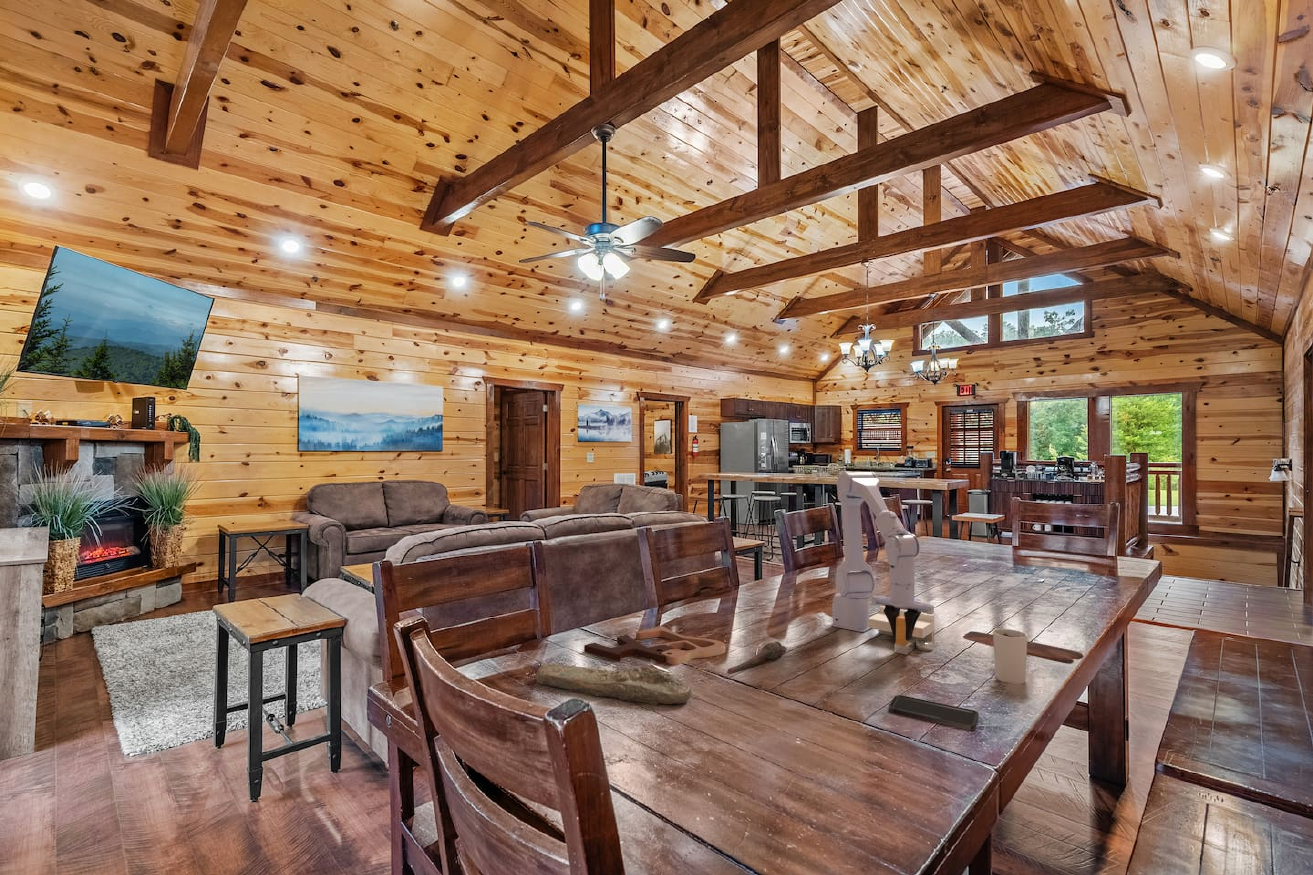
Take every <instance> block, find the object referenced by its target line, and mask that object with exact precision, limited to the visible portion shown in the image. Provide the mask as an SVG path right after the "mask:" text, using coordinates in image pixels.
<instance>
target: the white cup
mask: <svg viewBox="0 0 1313 875" xmlns="http://www.w3.org/2000/svg"><path fill="white" fill-rule="evenodd" d="M992 635H993V640H994V646H993V653H994V654H993V656H994V671H995V672H994V673H995V679H996V680H999V681H1001V682H1004V683H1008V684H1014V685H1020V684H1024V683H1026V676H1027V673H1026V672H1027V655H1028V654H1027V641H1028V634H1027V633H1026V632H1023V631H1020V630H1016V629H1010V628H995V629H993V631H992Z"/></svg>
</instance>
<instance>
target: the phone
mask: <svg viewBox="0 0 1313 875" xmlns="http://www.w3.org/2000/svg"><path fill="white" fill-rule="evenodd" d="M888 712H890V713H892V714H895V715H900V716H901V715H902V716H904V717H909V718H914V719H918V720H922V721H927V722H932V723H937V724H941V725H944V726H950V727H955V728H958V729H963V730H967V731H974V730H976V728H977V725H978V722H979V719H980V718H979V711H976V710H972V709H968V708H964V707H958V706H954V705H949V704H945V703H940V702H936V701H929V700H925V699H921V698H915V697H912V696H906V695H900V694H897V695H895V696H894V697H893V698H892V700H891V702H890V703H889V705H888Z"/></svg>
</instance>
